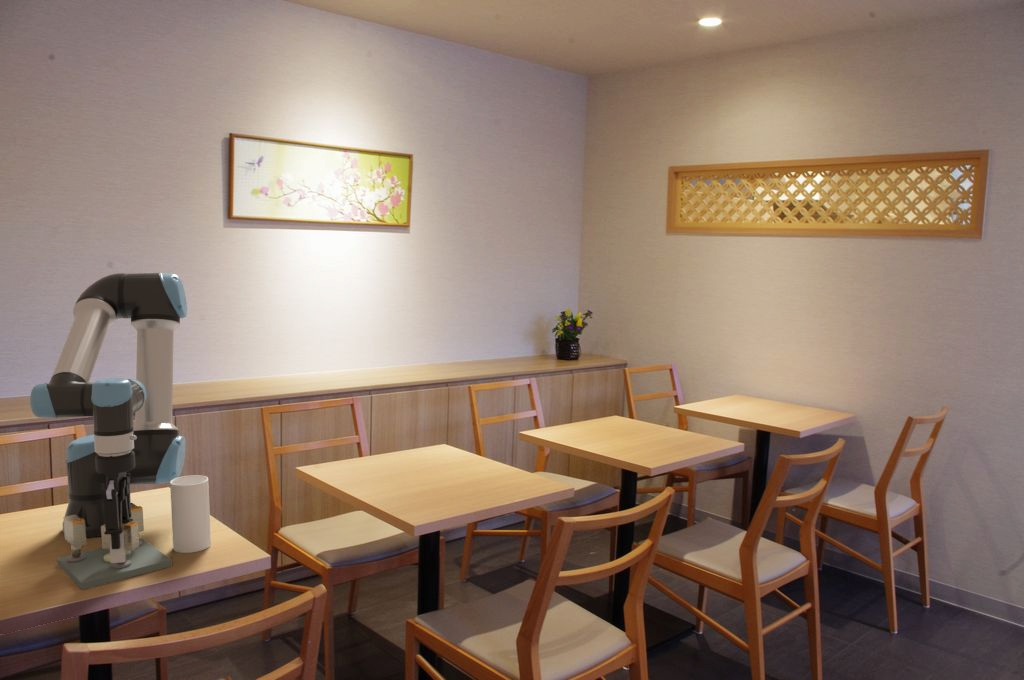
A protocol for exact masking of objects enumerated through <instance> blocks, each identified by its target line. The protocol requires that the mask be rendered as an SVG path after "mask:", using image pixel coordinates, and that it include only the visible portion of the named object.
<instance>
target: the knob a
mask: <svg viewBox="0 0 1024 680" xmlns="http://www.w3.org/2000/svg"><path fill="white" fill-rule="evenodd" d="M63 520H64V533H65V534H64V533H63V534H64V540H66V541H67V542H68V543H69V544H70V547H71V549H70V550H71V555H72V557H79V556H81V553H82V550H81V549H82V546H86V545H87V537H86V529H85V520H84V519H83V518H81V519H80V518H79V517H78V516H77V515H71V516H66V517H65V516H63Z"/></svg>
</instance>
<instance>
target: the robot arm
mask: <svg viewBox="0 0 1024 680" xmlns="http://www.w3.org/2000/svg"><path fill="white" fill-rule="evenodd" d="M72 314H73V315H72V316H73V317H74V319H73V322H72V325H71V326H70V329H69V332H68V335H67V336H66V337H67V338H66V340H65V342H64V345H63V346H62V350H61V352H60V355H59V357H58V360H57V362H56V365H55V368H54V370H53V372H52V376H51V378H50V380H49V382H47V383H46V382H44V383H39V384H35V385H34V386H33V388H31V392H30V398H29V405H30V408H31V411H32V414H33V415H34V416H35V417H37V418H40V419H42V418H44V419H61V418H63V419H64V418H65V419H66V418H81V417H84V418H85V417H92V420H93V421H92V422H93V434H89V435H86V436H82V437H79V438H77V439H74V440H71V442H70V443H68V445H67V446H66V459H65V463H66V472H67V485H68V502H67V503H68V505H67V507H66V511H65V515H64V517H66V516H71V515H77V516H78V517H79V518H80V519H81V518H83V519H84V520H85V529H86V538H93V537H94V538H95V537H102V535H101V526H102V525H104V524H105V528H106V531H105V532H104V534H105V535H108V534H109V542H110V560H111V563H121V562H125V545H124V532H122V523H129V522H130V521H132V522H133V519H129V518H131V503H132V502H131V486H138V485H142V486H143V485H160V484H168V483H169V484H170V482H171V480H173V479H175V478H178V477H181V476H180V475H181V473H182V471H183V468H184V463H185V457H186V451H187V450H186V449H187V447H186V438H185V436H182V435H179V434H180V433H179V428H178V427H177V426H176V425H175V424H174V423H173V395H174V394H173V393H174V392H173V390H174V389H173V388H174V387H173V386H174V384H173V383H174V381H173V380H174V332H175V330H176V329H177V328H179V327H180V324H181V319H183V318H186V317H187V314H188V304H187V298H186V292H185V289H184V285H183V281H182V280H181V278H180V277H179V275H178V274H174V273H162V272H150V273H146V272H145V273H143V272H141V273H123V272H122V273H121V272H120V273H112V274H109V275H105V276H104V277H101V278H99V279H98V280H96V281H95V282H93V283H92V284H90V285H89V286H88V287H87V288H86V289H85V290H84V291H83V292H82V293H81V294H80V295H79V297H78V298H77V299H76V302H75V304H74V307H73V311H72ZM118 319H130V325H131V326H132V327H133V328H134V329H135V330H136V333H137V334H136V370H135V371H136V375H135V376H136V379H135V378H122V377H121V378H120V377H113V378H112V377H111V378H103V379H98V380H96V381H94V382H90V379H91V377H92V373H93V371H94V369H95V365H96V363H97V359H98V357H99V354H100V351H101V348H102V345H103V342H104V340H105V337H106V334H107V331H108V329H109V328H110V327H111V326H113V324H115V322H116V320H118ZM134 414H135V423H134ZM62 533H63V534H64V535H65V533H64V519H63V522H62ZM126 554H130V550H126Z"/></svg>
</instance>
